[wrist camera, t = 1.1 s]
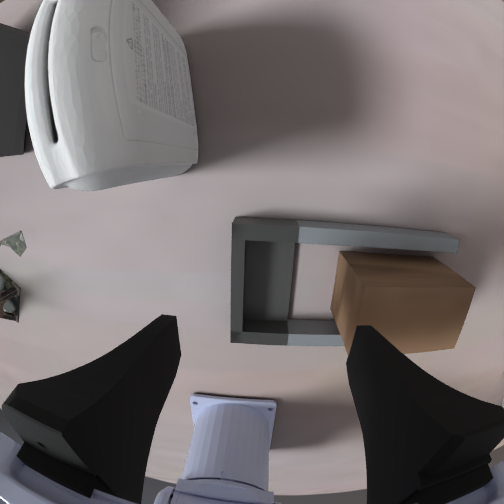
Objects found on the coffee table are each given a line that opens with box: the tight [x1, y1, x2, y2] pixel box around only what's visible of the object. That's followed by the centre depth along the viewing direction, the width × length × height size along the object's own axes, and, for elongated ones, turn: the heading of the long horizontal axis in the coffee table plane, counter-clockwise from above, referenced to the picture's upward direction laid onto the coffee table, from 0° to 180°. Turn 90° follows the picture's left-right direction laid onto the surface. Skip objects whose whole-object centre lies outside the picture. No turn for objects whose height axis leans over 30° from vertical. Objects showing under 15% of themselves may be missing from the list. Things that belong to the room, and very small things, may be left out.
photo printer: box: [25, 0, 198, 191], centre depth 11 cm, size 10×4×12 cm, turn 8°
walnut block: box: [331, 251, 476, 356], centre depth 17 cm, size 4×8×6 cm, turn 88°
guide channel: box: [231, 217, 460, 346], centre depth 19 cm, size 8×16×2 cm, turn 88°
